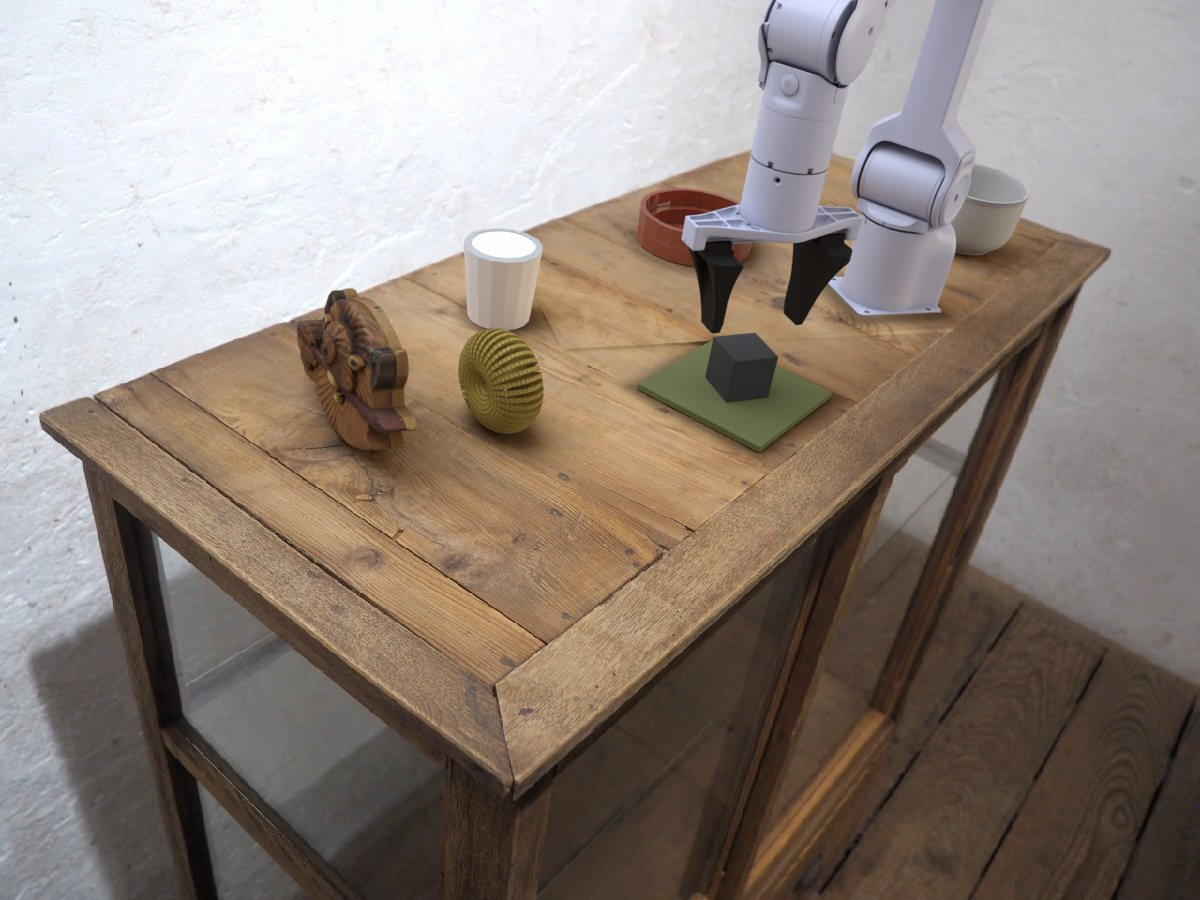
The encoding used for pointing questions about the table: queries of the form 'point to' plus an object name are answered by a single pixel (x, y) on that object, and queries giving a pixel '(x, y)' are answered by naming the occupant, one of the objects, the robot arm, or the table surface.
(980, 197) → the teacup
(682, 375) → the pad
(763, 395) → the block
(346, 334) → the wooden carving
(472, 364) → the sculpture
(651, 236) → the bowl
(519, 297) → the white cylinder
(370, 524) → the table surface
